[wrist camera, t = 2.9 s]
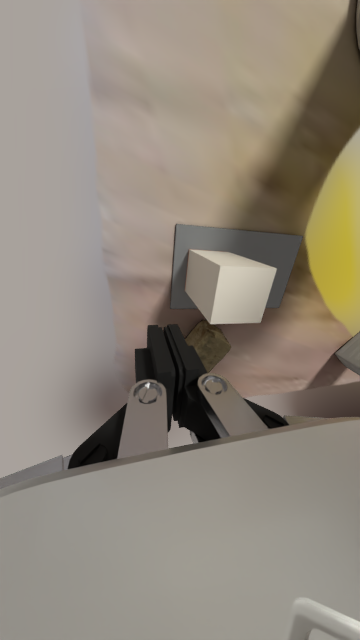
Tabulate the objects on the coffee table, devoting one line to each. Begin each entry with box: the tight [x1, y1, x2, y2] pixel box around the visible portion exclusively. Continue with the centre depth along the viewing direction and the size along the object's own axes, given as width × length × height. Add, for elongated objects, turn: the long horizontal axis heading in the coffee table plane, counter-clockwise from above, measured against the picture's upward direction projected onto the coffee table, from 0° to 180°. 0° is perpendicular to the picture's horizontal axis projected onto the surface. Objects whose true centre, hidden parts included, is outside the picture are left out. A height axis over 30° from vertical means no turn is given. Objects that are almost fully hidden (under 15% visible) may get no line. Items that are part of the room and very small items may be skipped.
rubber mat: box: [170, 224, 303, 309], centre depth 31 cm, size 12×20×1 cm, turn 85°
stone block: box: [185, 320, 231, 373], centre depth 34 cm, size 6×12×5 cm, turn 143°
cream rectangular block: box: [185, 249, 277, 324], centre depth 25 cm, size 6×6×11 cm
